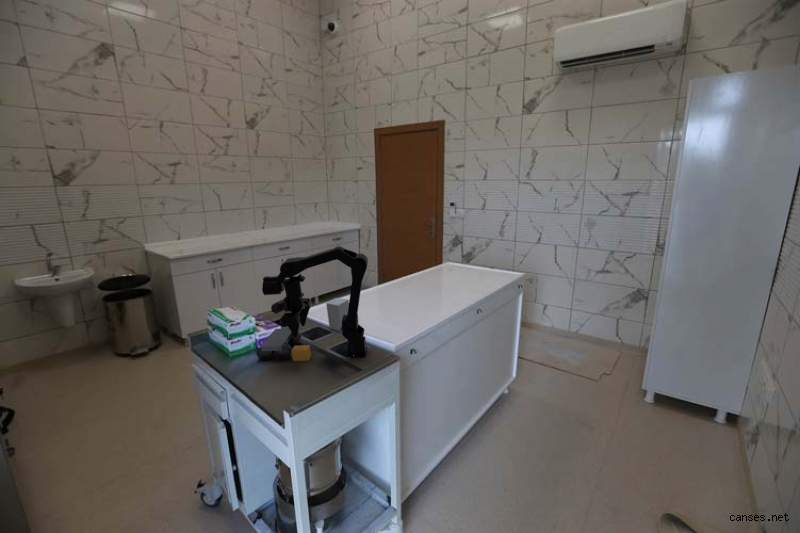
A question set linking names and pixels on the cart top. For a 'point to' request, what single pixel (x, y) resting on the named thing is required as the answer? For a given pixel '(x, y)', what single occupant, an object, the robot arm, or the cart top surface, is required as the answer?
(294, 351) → the block
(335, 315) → the supplement box
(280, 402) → the cart top surface
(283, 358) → the trolley
